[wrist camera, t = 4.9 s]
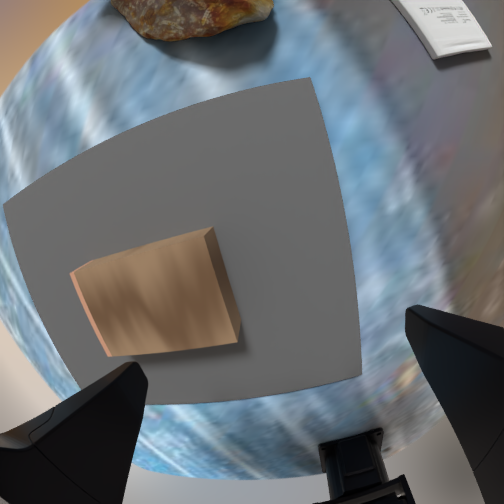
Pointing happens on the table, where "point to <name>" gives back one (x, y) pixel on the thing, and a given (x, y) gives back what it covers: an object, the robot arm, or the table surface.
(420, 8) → the external hard drive
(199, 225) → the rubber mat
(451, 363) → the robot arm
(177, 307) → the walnut slab
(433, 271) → the table surface
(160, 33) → the decorative stone
